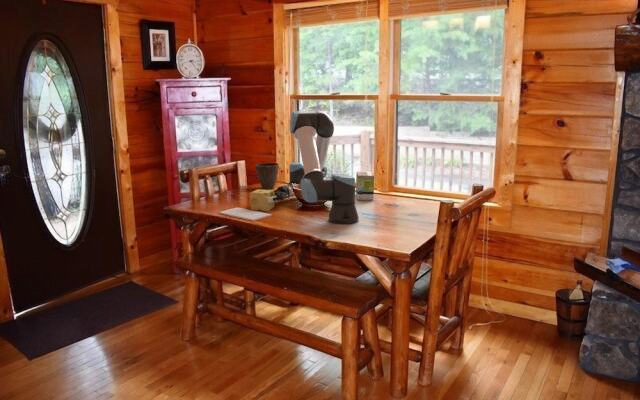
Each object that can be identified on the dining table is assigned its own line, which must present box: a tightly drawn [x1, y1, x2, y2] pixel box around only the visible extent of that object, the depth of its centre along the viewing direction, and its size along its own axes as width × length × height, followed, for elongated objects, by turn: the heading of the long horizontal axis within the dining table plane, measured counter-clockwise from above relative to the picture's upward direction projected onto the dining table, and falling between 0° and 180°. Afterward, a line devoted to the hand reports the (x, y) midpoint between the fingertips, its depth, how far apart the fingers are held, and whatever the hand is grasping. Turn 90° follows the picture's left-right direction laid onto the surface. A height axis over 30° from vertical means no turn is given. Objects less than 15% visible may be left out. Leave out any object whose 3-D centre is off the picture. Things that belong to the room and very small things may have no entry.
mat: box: [218, 207, 272, 222], centre depth 274 cm, size 26×13×1 cm, turn 52°
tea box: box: [355, 171, 375, 201], centre depth 310 cm, size 15×10×15 cm
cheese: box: [249, 189, 276, 212], centre depth 285 cm, size 10×11×10 cm
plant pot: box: [255, 162, 279, 190], centre depth 337 cm, size 15×15×16 cm
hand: (259, 198), depth 283 cm, fingers closed on cheese, 13 cm apart
